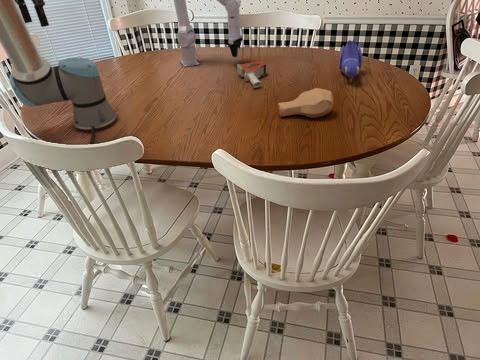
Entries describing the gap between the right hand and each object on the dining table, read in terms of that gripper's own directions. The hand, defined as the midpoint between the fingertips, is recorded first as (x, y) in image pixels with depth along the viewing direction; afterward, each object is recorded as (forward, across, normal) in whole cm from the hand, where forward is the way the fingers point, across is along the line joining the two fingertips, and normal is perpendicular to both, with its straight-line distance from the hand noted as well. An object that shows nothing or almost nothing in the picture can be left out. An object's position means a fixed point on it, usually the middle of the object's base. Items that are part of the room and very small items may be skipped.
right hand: (235, 55), depth 175 cm
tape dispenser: (+5, -18, -12) cm, 23 cm away
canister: (+1, 0, 0) cm, 1 cm away
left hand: (-25, -48, +66) cm, 85 cm away
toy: (+5, -11, -55) cm, 56 cm away
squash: (+5, -50, -40) cm, 65 cm away
